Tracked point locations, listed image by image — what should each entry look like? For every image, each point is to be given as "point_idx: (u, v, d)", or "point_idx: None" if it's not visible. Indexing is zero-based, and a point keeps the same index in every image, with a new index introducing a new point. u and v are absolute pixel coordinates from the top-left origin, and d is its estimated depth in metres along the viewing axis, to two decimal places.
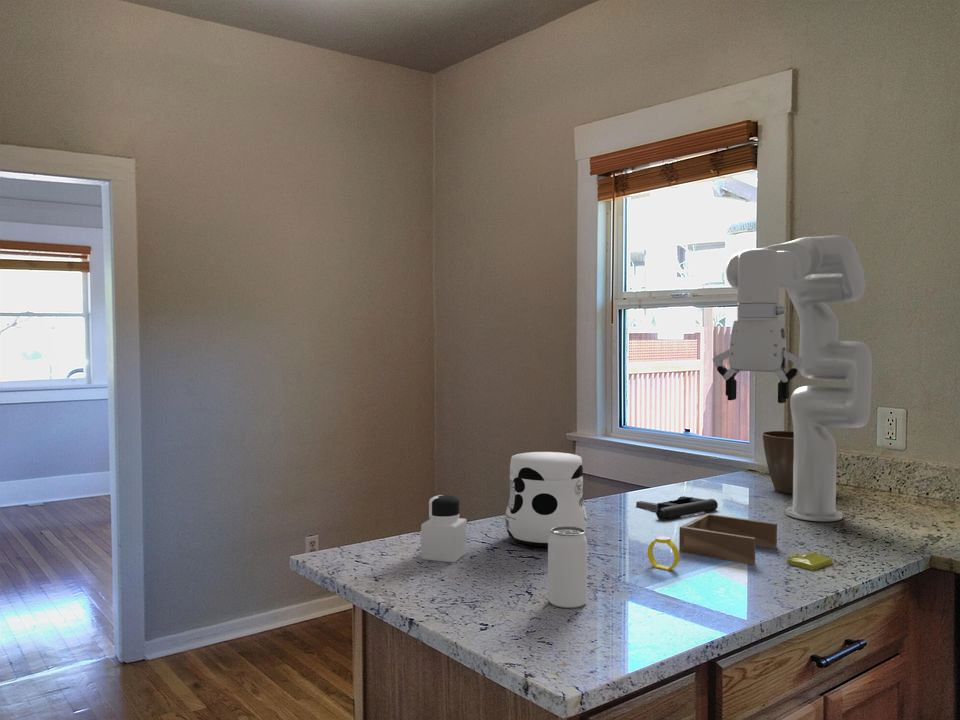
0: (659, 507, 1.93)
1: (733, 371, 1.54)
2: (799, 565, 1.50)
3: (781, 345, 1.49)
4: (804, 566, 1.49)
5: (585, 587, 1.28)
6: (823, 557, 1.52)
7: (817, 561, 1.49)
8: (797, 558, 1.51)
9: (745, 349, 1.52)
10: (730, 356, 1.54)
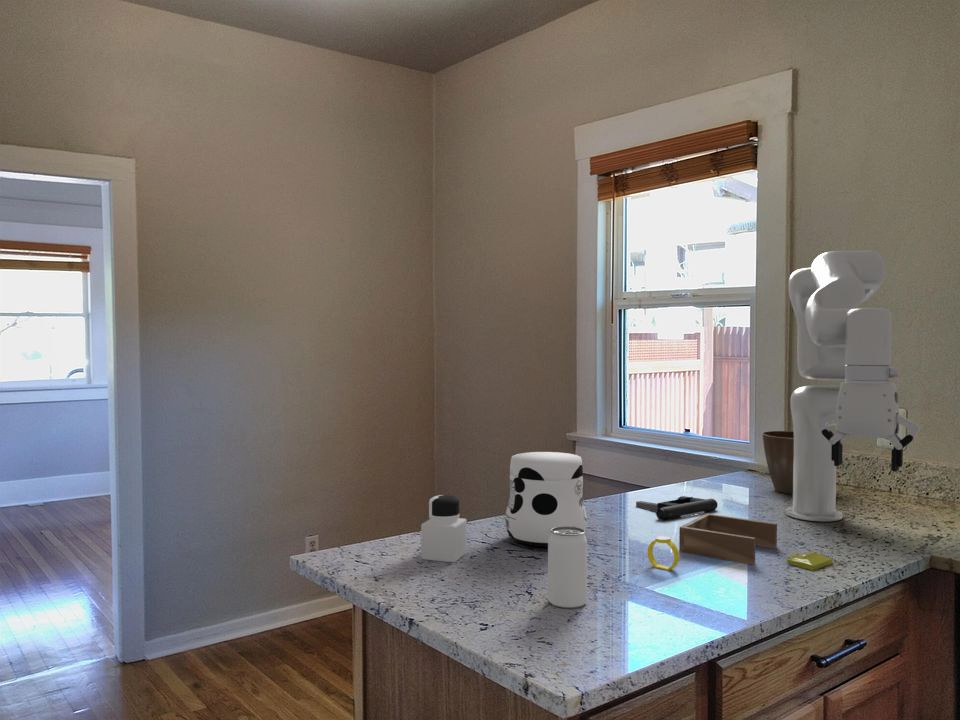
0: (659, 507, 1.93)
1: (840, 435, 1.46)
2: (799, 565, 1.50)
3: (895, 410, 1.40)
4: (804, 566, 1.49)
5: (585, 587, 1.28)
6: (823, 557, 1.52)
7: (817, 561, 1.49)
8: (797, 558, 1.51)
9: (855, 413, 1.43)
10: (837, 420, 1.46)
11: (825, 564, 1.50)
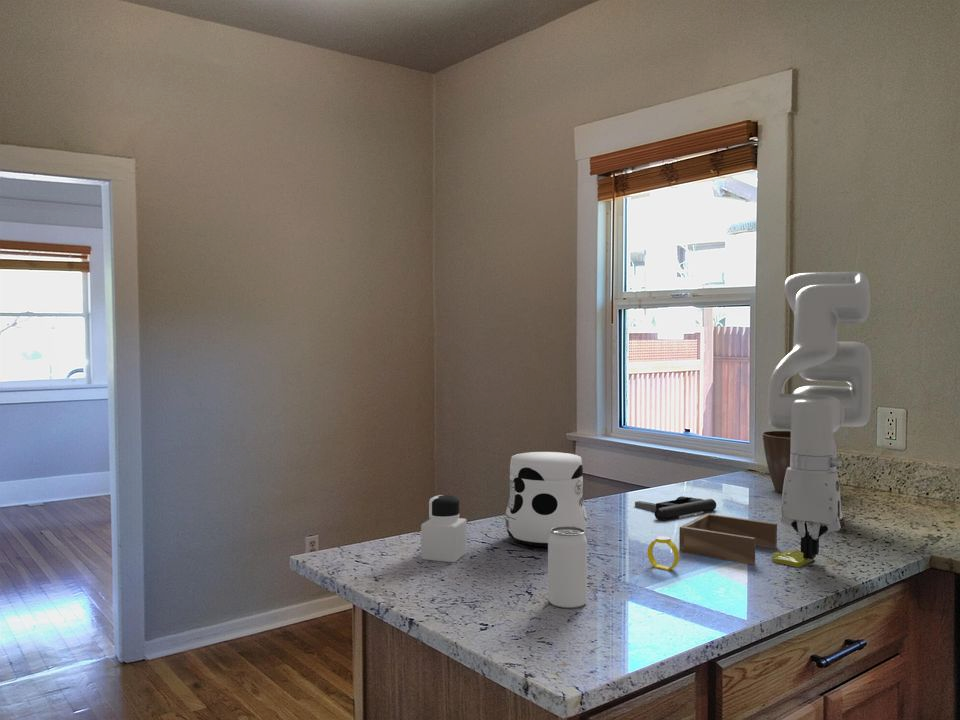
0: (658, 507, 1.93)
1: (802, 525, 1.51)
2: (785, 563, 1.51)
3: (836, 498, 1.47)
4: (790, 564, 1.50)
5: (585, 587, 1.28)
6: None
7: (801, 558, 1.51)
8: (782, 556, 1.52)
9: (799, 500, 1.50)
10: (783, 505, 1.52)
11: (808, 561, 1.52)
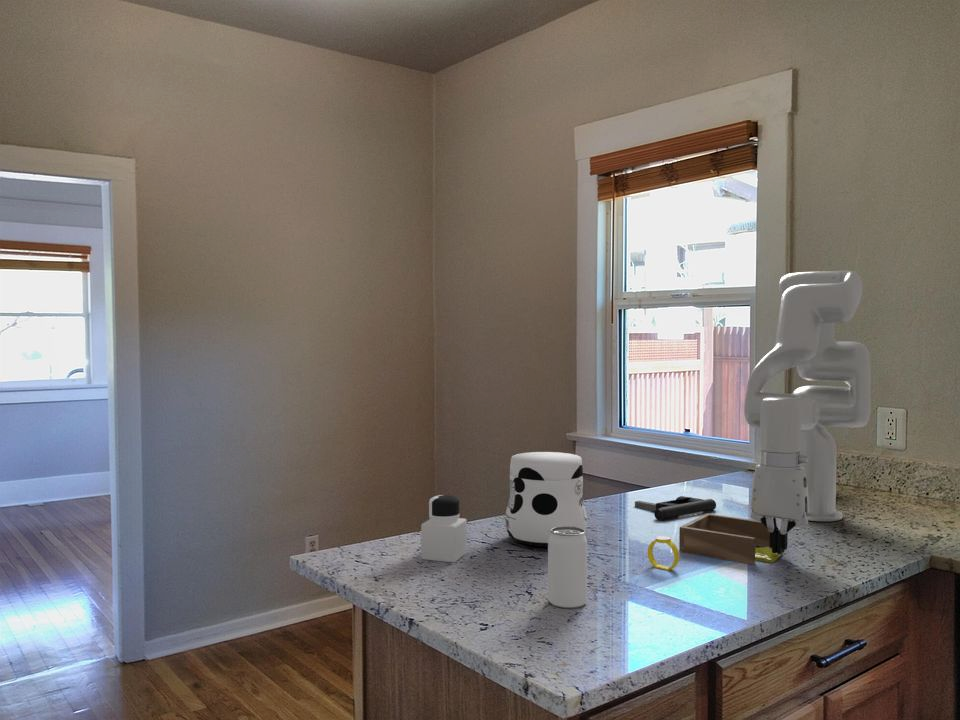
0: (657, 507, 1.93)
1: (771, 520, 1.54)
2: (758, 560, 1.53)
3: (803, 494, 1.51)
4: (764, 561, 1.53)
5: (585, 587, 1.28)
6: None
7: (773, 555, 1.54)
8: (755, 554, 1.55)
9: (767, 496, 1.54)
10: (752, 501, 1.56)
11: (778, 557, 1.56)
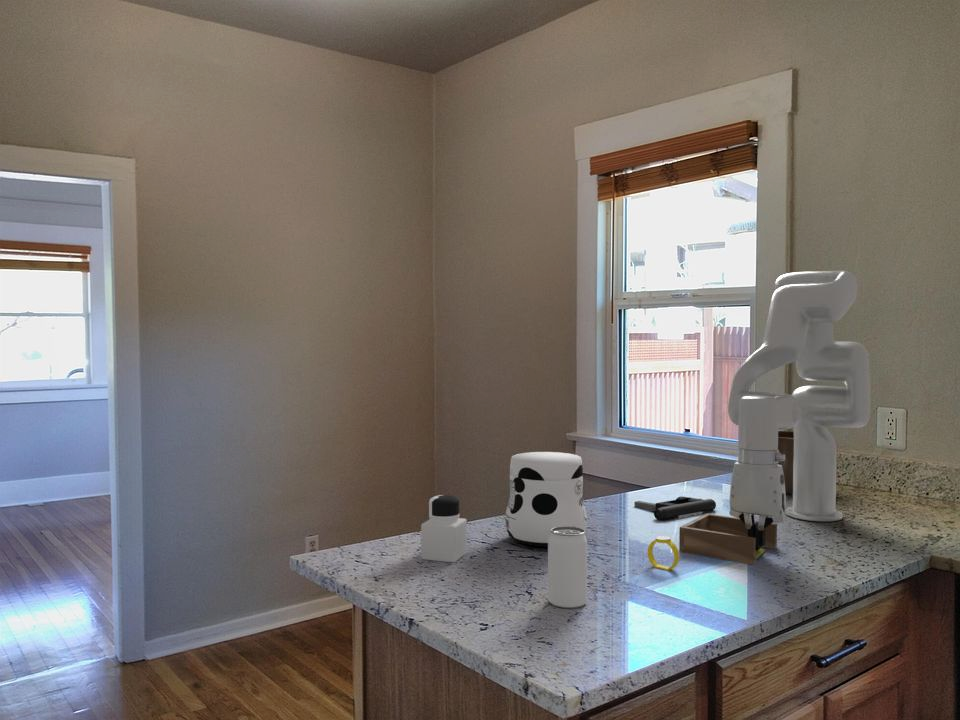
0: (657, 507, 1.93)
1: (748, 517, 1.57)
2: None
3: (780, 491, 1.53)
4: None
5: (585, 587, 1.28)
6: None
7: (755, 552, 1.56)
8: None
9: (745, 493, 1.56)
10: (731, 497, 1.58)
11: None
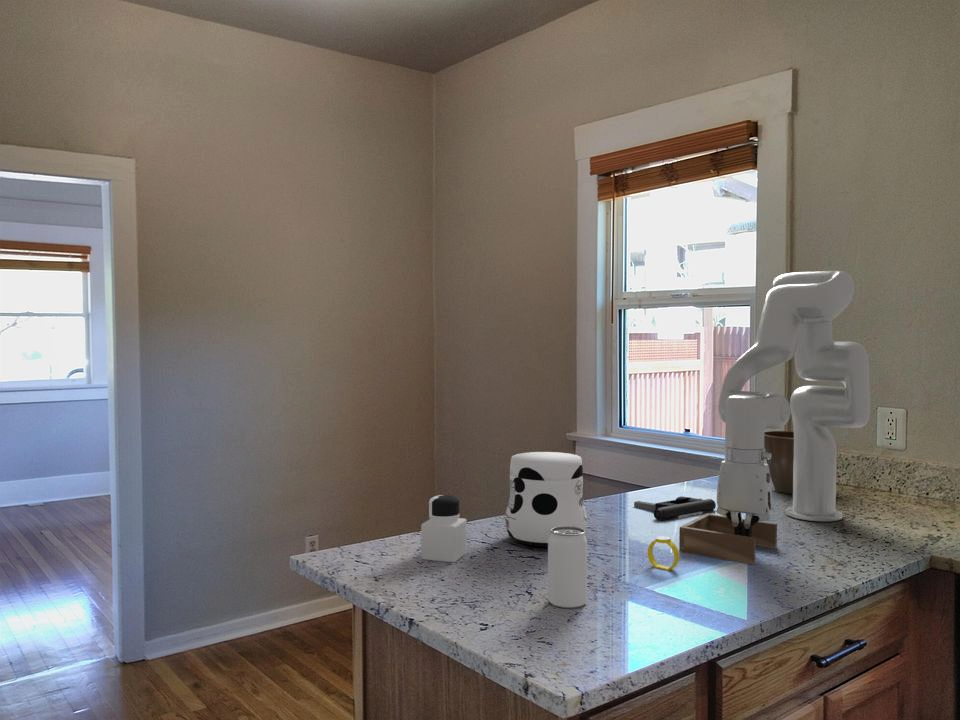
0: (657, 507, 1.93)
1: (735, 515, 1.59)
2: None
3: (766, 489, 1.55)
4: None
5: (585, 587, 1.28)
6: None
7: None
8: None
9: (732, 491, 1.58)
10: (718, 496, 1.60)
11: None
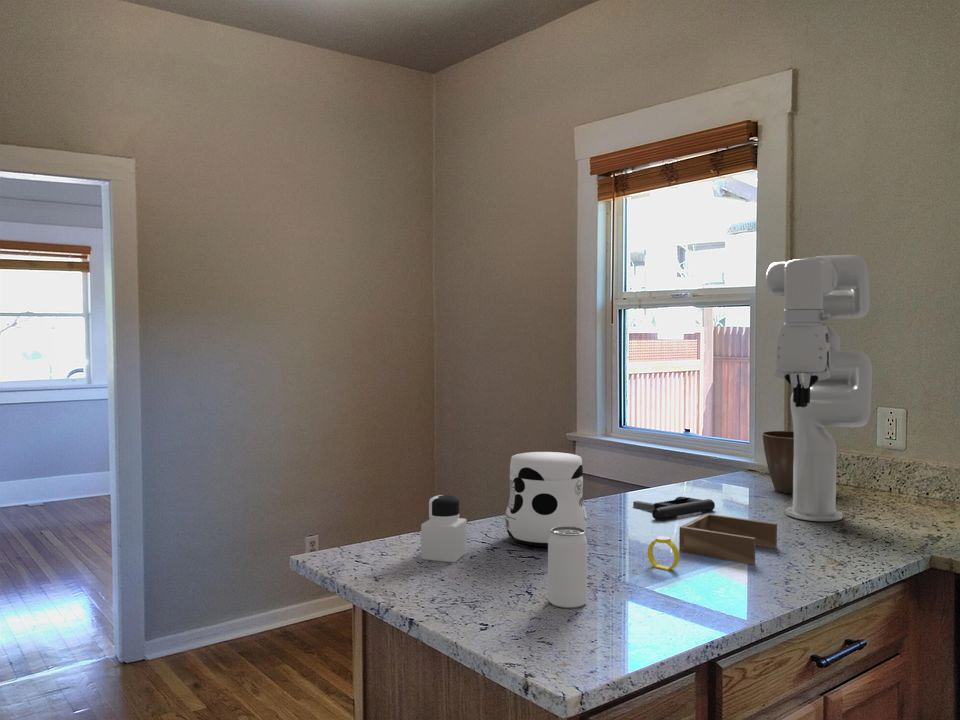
0: (656, 507, 1.93)
1: (794, 376, 1.64)
2: None
3: (825, 348, 1.60)
4: None
5: (585, 587, 1.28)
6: None
7: None
8: None
9: (791, 352, 1.63)
10: (777, 359, 1.65)
11: None
